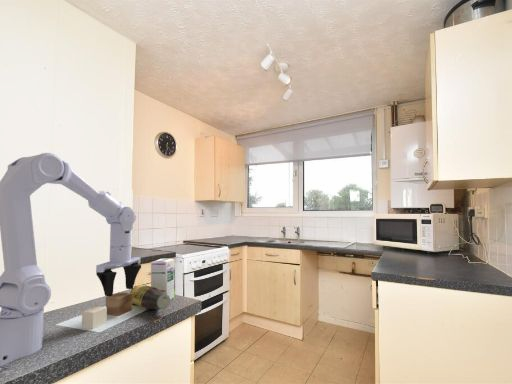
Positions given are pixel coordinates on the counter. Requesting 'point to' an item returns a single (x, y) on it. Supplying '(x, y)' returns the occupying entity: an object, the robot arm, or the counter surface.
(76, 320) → the board
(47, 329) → the counter surface
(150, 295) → the sauce bottle
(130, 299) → the walnut block
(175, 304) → the counter surface
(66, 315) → the counter surface
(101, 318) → the cream block
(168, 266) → the syrup box
